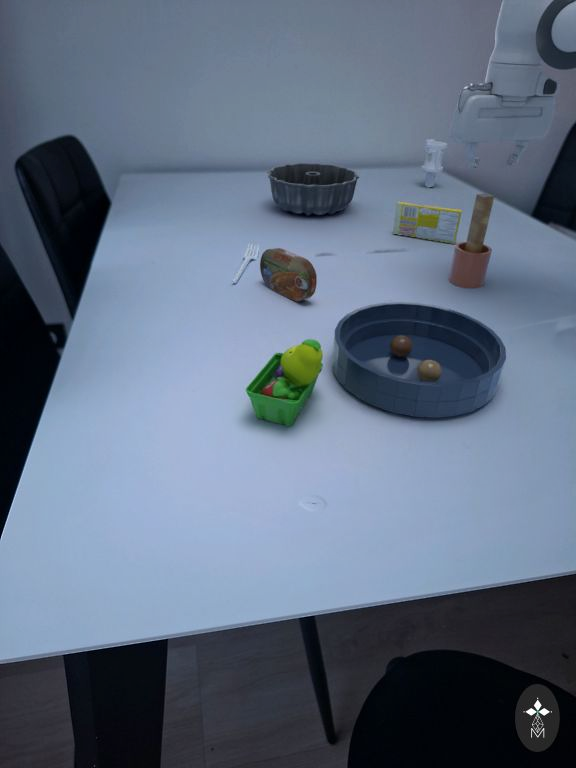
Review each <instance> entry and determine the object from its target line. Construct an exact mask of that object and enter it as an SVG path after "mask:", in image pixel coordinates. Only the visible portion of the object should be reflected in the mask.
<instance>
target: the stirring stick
mask: <svg viewBox="0 0 576 768" xmlns="http://www.w3.org/2000/svg"><path fill="white" fill-rule="evenodd" d="M494 200H495V196H494V195H493V194H489V193H487V192H486V193H477V194H476V196H475V200H474V204H473V209H472V215H471V217H470V218H471V219H470V224H469V229H468V233H467V238H466V241H465V242H466V246H465V251H467V252H471V253H481V251H482V247H483V244H484V243H485V238H486V235H487V230H488V225H489V221H490V217H491V212H492V209H493V204H494Z"/></svg>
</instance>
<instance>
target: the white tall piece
mask: <svg viewBox="0 0 576 768" xmlns="http://www.w3.org/2000/svg"><path fill="white" fill-rule="evenodd" d="M447 148H448V143H446V142H443V141H436V139H432V138H431V139H425V143H424V152H425V157H424V163H423V164H422V165H421V168H420V169H421V171H423V172H426V173H425V174H426V175H425V179H424V186H425V185H426V186H434V187H435V181H436V175H437V173H442V172H443V169H444V167H443V166H442V164H443V163H442V162H443V157H444V152H443V151H442V150H446V149H447Z"/></svg>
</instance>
